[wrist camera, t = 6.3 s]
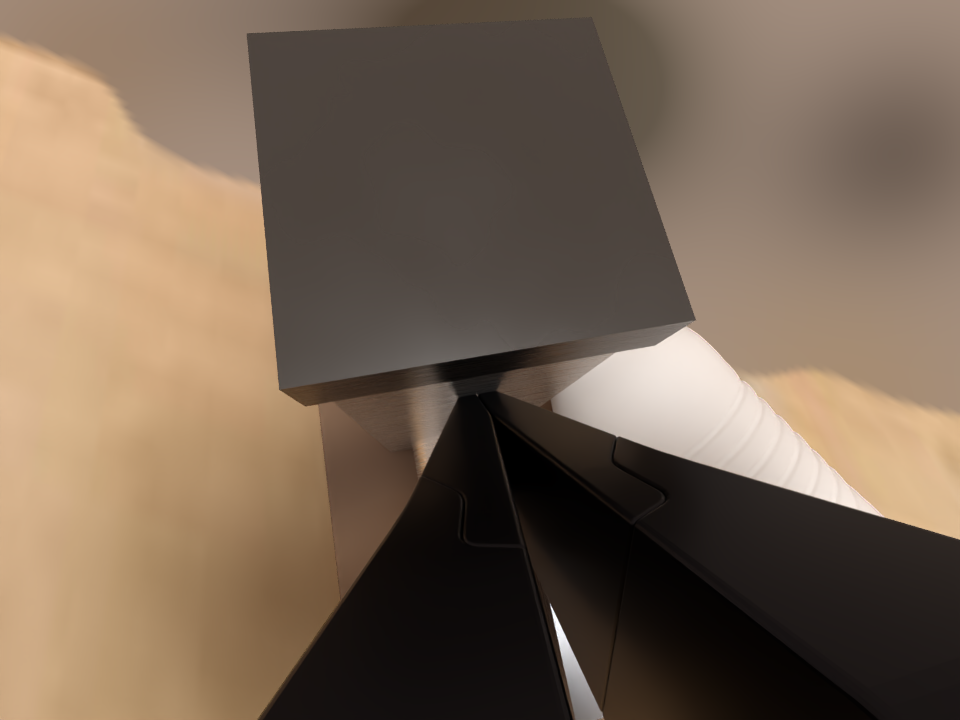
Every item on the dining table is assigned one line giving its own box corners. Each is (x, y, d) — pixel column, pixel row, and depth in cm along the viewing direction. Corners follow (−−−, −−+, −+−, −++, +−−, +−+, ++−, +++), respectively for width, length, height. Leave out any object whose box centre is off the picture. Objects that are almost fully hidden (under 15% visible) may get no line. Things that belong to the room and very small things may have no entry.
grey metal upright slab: (548, 587, 17) (888, 880, 4) (410, 622, 16) (344, 1103, 4) (480, 277, 20) (563, -69, 8) (362, 294, 19) (238, -63, 7)
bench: (631, 721, 17) (742, 851, 11) (371, 804, 16) (333, 1006, 10) (511, 234, 23) (542, 141, 16) (307, 260, 21) (257, 167, 15)
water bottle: (1300, 1006, 10) (555, 253, 13) (963, 936, 15) (451, 374, 17) (1101, 669, 17) (634, 215, 20) (909, 686, 21) (545, 310, 24)
